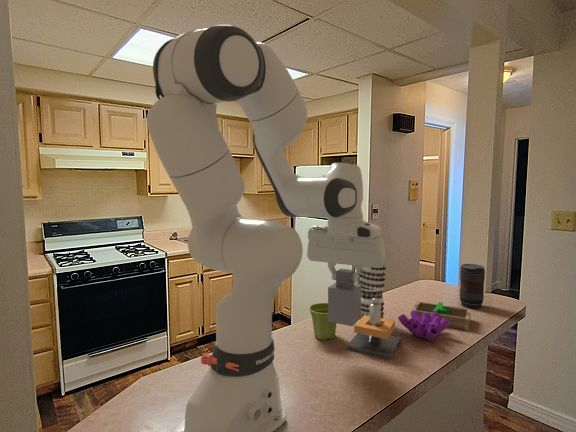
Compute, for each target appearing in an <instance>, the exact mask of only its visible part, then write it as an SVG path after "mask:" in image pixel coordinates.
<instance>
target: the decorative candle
mask: <svg viewBox="0 0 576 432" xmlns="http://www.w3.org/2000/svg"><path fill="white" fill-rule="evenodd" d="M386 270H387V268H386V267H385V264H384V265H383V266H382V267H381V268H372V267H363V266H362V270H361V271H360V273H359V274H358V282H357V283H356V284H361V318H362V317H363V316H364V315H367V316H370V303H371V302H372V298H378V299H379V303H380V304H381V318H384V314H385V313H384V310H385V308H384V305H385V303H384V296H383V291H384V289H385V284H384V283H383V282H384V281H385V280H386V278H385V276H386V273H385V272H383V271H386ZM361 318H360V319H361ZM360 319H359V320H360ZM359 320H358V321H359ZM358 321H357V322H358ZM357 322H356V323H357Z"/></svg>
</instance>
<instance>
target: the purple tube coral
mask: <svg viewBox="0 0 576 432" xmlns="http://www.w3.org/2000/svg"><path fill="white" fill-rule="evenodd" d="M410 317H411V318H412V319H411V318H408V316H407V315H406V314H401V315H399V316H398V321H399V322H400V323H401V325H402V326H403V327H405V329H407V331H409V332H410V333H412V335H415V336H417V337H421V338H424V339H427V340H434V339H436V337H438V334H440V333H442V332H444V331H445V330H446V329H447V328H449V327H448V325H449V323H450V322H449V321H448V320H447V319H445V318H443V319H442V318H440V317H439V314H438V313H436V312H431V314H430V316H429V313H425V312H424V313H422V320H421V318H420V316H419V313H418V311H412V310H411V311H410Z"/></svg>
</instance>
